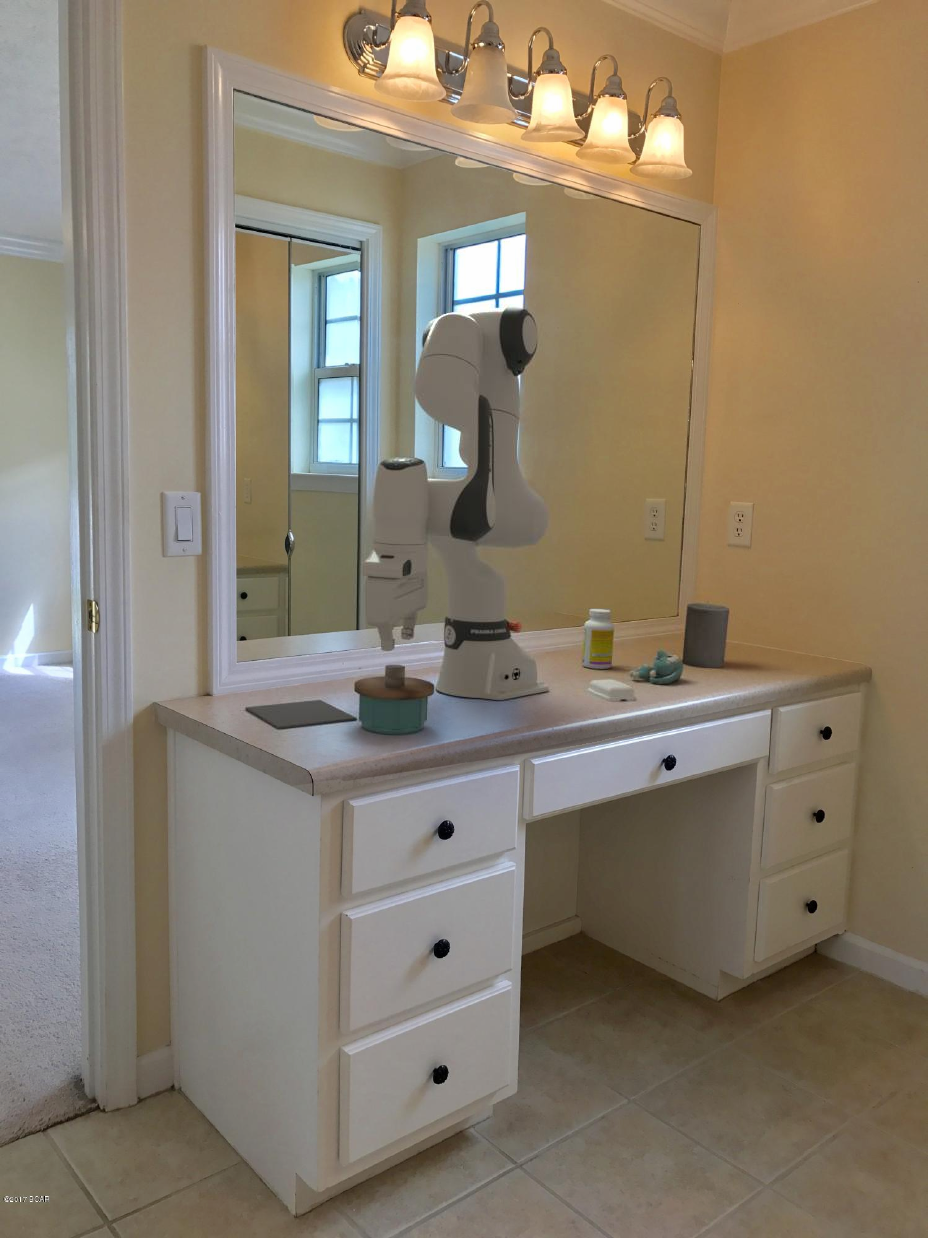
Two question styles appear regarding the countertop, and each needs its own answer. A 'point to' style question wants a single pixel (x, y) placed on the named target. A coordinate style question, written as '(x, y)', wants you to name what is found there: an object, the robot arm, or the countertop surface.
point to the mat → (300, 714)
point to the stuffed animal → (660, 669)
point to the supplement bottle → (598, 640)
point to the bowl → (392, 715)
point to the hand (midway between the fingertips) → (397, 644)
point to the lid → (394, 685)
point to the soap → (611, 690)
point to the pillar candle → (705, 635)
